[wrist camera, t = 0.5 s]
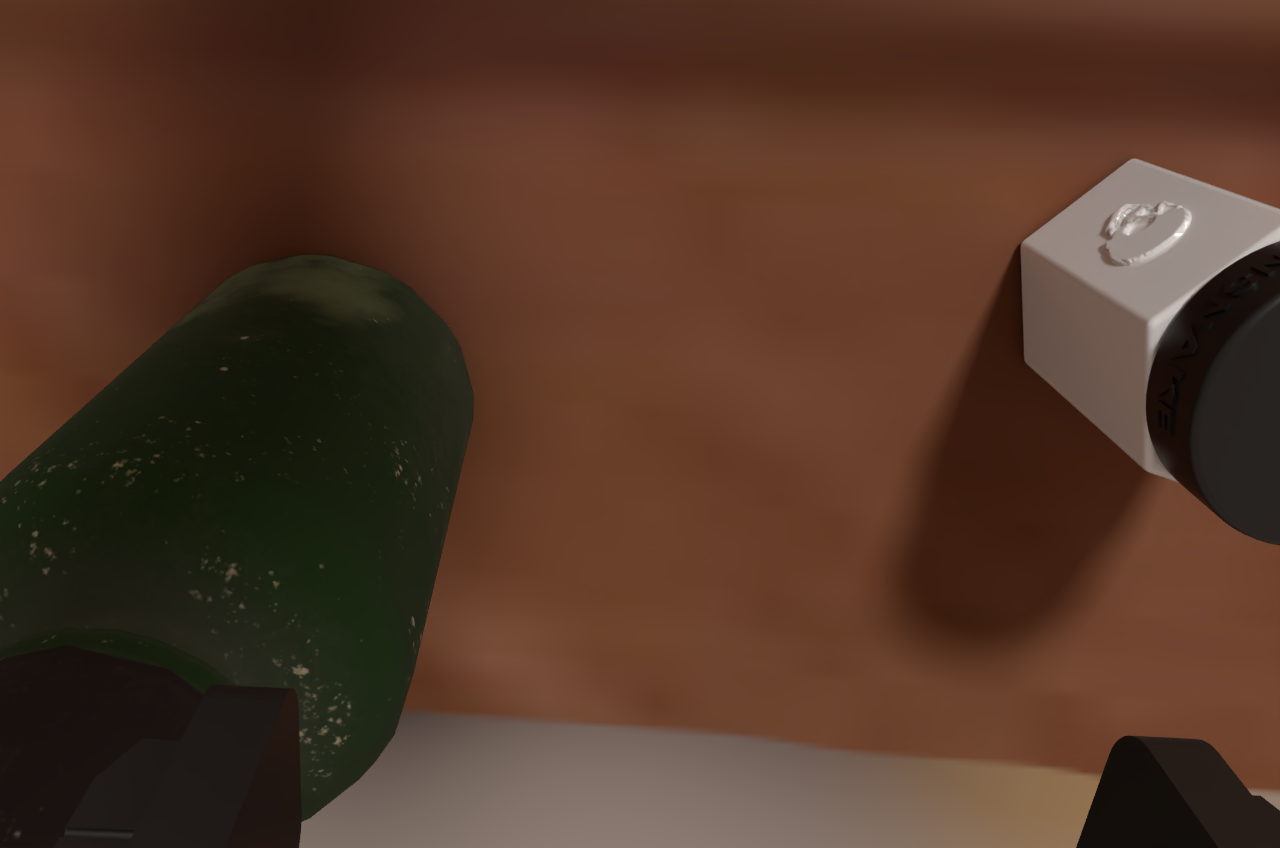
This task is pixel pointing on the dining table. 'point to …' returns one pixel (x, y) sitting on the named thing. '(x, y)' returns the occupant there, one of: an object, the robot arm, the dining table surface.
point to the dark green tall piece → (232, 534)
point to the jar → (1167, 332)
